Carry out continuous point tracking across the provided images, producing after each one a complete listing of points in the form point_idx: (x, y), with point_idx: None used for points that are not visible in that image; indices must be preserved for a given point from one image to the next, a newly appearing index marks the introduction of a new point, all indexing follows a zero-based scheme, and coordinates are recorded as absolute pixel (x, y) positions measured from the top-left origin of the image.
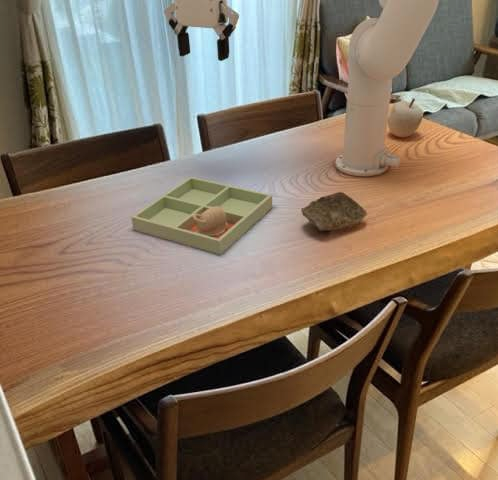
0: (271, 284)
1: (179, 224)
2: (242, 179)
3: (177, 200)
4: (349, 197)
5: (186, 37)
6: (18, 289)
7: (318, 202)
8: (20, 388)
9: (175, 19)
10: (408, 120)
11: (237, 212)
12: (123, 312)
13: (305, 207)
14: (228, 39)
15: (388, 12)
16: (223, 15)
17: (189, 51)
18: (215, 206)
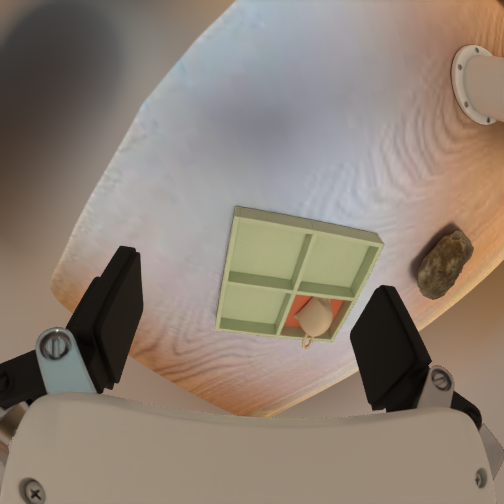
0: None
1: (280, 330)
2: (313, 149)
3: (251, 287)
4: (468, 246)
5: (111, 336)
6: (184, 384)
7: (438, 272)
8: None
9: (14, 410)
10: None
11: (334, 263)
12: (274, 386)
13: (423, 277)
14: (427, 369)
15: None
16: (463, 452)
17: (136, 261)
18: (324, 327)
